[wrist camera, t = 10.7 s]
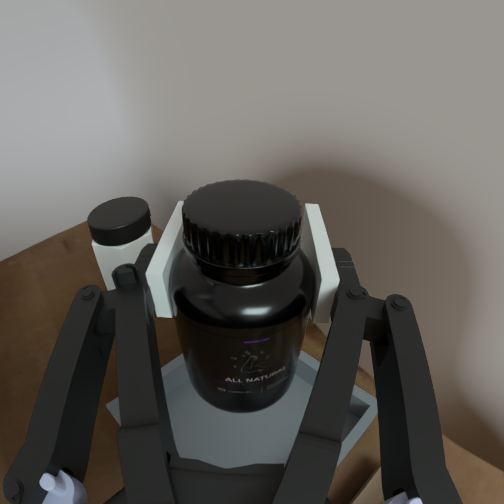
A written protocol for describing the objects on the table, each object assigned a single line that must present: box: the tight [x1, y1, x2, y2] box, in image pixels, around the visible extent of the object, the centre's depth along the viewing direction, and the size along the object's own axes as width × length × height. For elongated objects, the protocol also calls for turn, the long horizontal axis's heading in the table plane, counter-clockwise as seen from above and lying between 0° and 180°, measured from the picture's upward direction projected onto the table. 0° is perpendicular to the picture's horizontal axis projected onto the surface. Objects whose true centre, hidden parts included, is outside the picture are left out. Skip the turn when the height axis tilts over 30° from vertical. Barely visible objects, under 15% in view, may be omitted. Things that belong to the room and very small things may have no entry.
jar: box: [87, 197, 155, 290], centre depth 40 cm, size 9×8×12 cm
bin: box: [106, 350, 378, 468], centre depth 25 cm, size 18×18×4 cm
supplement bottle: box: [168, 180, 315, 413], centre depth 16 cm, size 7×7×12 cm
